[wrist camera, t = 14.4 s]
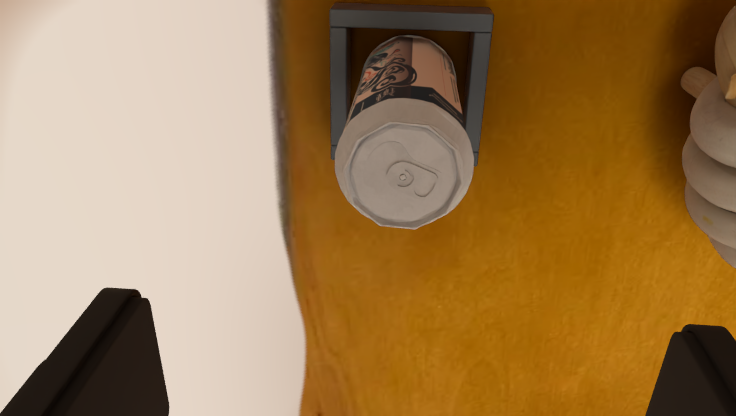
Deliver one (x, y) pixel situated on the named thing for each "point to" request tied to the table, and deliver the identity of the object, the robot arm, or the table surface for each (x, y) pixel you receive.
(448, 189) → the beer can
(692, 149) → the toy sheep
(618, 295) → the table surface
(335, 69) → the holder
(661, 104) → the table surface
